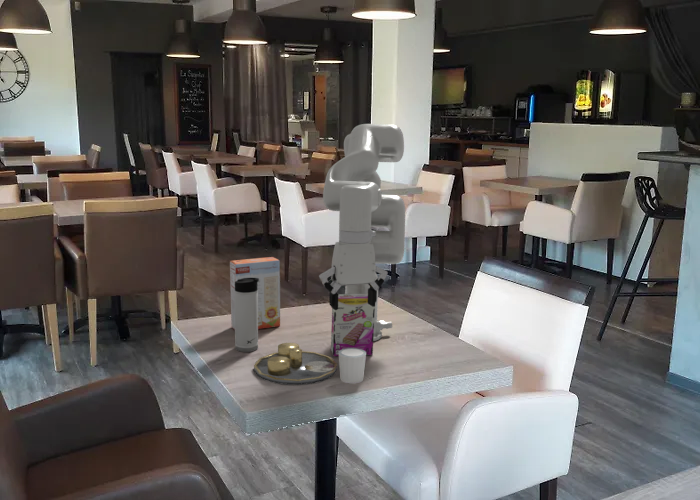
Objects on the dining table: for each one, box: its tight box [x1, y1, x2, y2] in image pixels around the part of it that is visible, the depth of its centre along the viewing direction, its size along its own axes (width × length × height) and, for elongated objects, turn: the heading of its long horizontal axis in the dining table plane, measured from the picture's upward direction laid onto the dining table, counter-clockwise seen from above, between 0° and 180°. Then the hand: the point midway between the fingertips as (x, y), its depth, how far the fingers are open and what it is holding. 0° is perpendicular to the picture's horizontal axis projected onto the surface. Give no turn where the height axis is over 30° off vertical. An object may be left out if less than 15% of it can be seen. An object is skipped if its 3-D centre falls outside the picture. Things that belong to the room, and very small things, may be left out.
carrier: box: [253, 342, 338, 386], centre depth 177 cm, size 21×21×5 cm
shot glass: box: [338, 348, 367, 384], centre depth 171 cm, size 7×7×7 cm
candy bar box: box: [330, 293, 375, 357], centre depth 188 cm, size 11×5×16 cm, turn 100°
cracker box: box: [229, 256, 281, 331], centre depth 209 cm, size 14×6×21 cm, turn 117°
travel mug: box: [234, 278, 259, 353], centre depth 190 cm, size 6×7×20 cm
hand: (353, 306), depth 168 cm, fingers open, 9 cm apart
